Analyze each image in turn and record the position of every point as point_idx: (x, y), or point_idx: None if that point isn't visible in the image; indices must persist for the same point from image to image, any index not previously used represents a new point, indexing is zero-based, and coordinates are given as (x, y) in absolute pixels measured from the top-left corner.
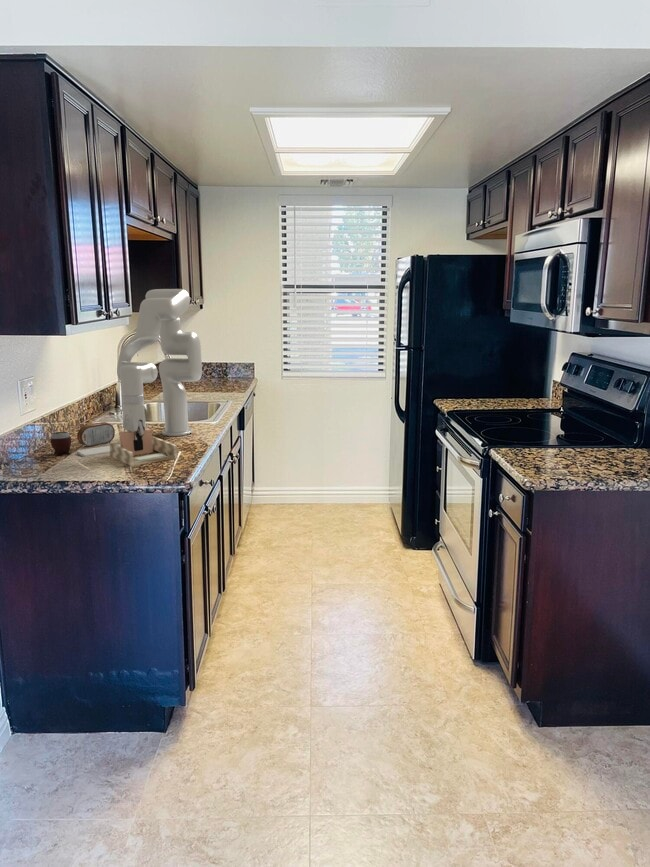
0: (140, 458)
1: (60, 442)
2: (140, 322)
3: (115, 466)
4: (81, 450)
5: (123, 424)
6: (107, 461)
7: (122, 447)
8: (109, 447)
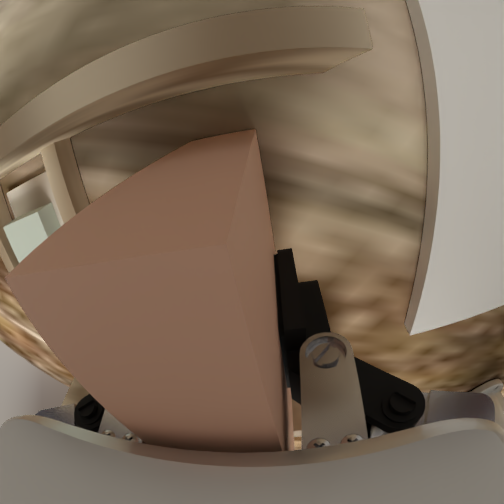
0: (25, 242)
1: None
2: None
3: (17, 84)
4: None
5: (498, 497)
6: (156, 10)
7: (179, 154)
8: None
